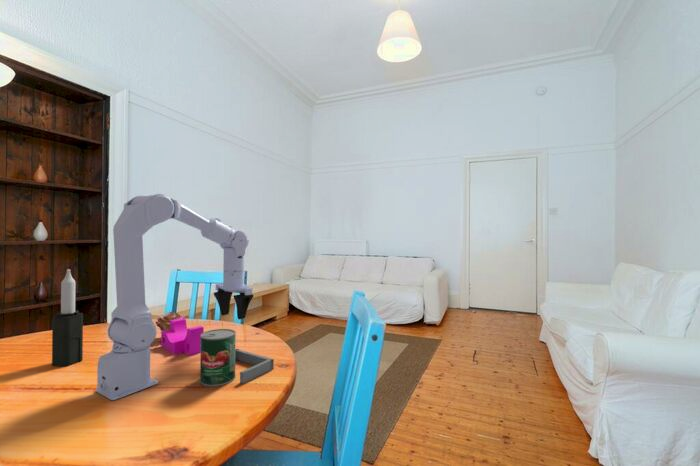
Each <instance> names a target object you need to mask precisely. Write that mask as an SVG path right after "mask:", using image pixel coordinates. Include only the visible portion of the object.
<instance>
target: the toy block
mask: <svg viewBox="0 0 700 466" xmlns="http://www.w3.org/2000/svg"><path fill="white" fill-rule="evenodd" d="M204 332H205V331H204V326H201V325H198V326H194V327H188V326H187V319H186V318H185V319H183V318H180V319H175V320H170V330H167V331H162V332H161V331H160V334H161V335H160V336H161V337H160V339H161V340H160V342H161V343H160V344H161V345H160V346H161V347H162V348H163V349H165V350H167V351H168V352H170V353H172V354H173V355H178V354H181V353H184V354H187V355H189V356H192V355H193V356H194V355H197V354H200V353H201V351H200V349H201V347H200V346H201V337H200V335H201V334H202V333H204Z"/></svg>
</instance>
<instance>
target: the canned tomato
mask: <svg viewBox="0 0 700 466" xmlns="http://www.w3.org/2000/svg"><path fill="white" fill-rule="evenodd" d="M200 337H201V346H200V347H201V349H200V351H201V353H199V355H200V364H199V366H200V370H199V371H200V373H199V376H200V380H199V383H200V384H201V385H202V386H204V387H221V386H225V385H228V384H230V383H231V382H233V381H234V380H235V379H236V360H235V349H236V331H235V330H234V329H230V328H216V329H211V330H207V331H204V333H202V334H201V335H200Z"/></svg>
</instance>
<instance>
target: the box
mask: <svg viewBox="0 0 700 466" xmlns="http://www.w3.org/2000/svg"><path fill="white" fill-rule="evenodd" d="M236 360H237V361H240V362H243V363H246V364H250V365H252V366H250V367H249V368H246V369H244V370H242V371H240V372H239V383H240V384H245V383H247V382H249V381H252V380H253V379H256V378H258V377H260V376H262V375H263V374H264V375H265V374H266V373H268V372H270V371H272V370H274V367H275V366H274V365H275V363H274V362H275V360H274V358H271V357H267V356H263V355H260V354H256V353H252V352H249V351H245V350H243V349H239V348H235V361H236Z"/></svg>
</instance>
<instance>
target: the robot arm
mask: <svg viewBox="0 0 700 466" xmlns="http://www.w3.org/2000/svg"><path fill="white" fill-rule="evenodd" d="M171 219H173V220H176V221H177V222H180V223H183V224H185V225H187V226H190V227H192V228H195V229H197V230H199V231H200V234H201V236H202V237H203V238H204V239H207V240H210V241H212V242H213V243H216V244H218V245H219V246H220V248H221V249H223V271H222V272H223V276H222V278H223V279H222V280H223V281H222V282H221V283H215V291H216V292H213V295H214V298H215V299H216V302H217V304H218V307H219V312H220V315H221V316H227V315H229V314H230V306H231V299H232V296H233V299H234V302H235V305H236V306H235V307H236V316H237V317H236V318H237V319H238V320H242V319H243V320H244V319H245V318H246V316H247V312H248V308H249V305H250V303H251V301H252V299H253V298H254V294H253V287H249V286H247V285H246V284H245V283H244V278H245V277H244V275H245V274H244V270H245V269H244V268H245V265H244V264H245V261H244V260H245V254H246V249H247V247H248V245H249V241H250V240H248V236H247V235H246V234H245V232H243V231H241V230H235V229H234V227H233V226H228V225H226V224H224V223H222V219H220V218H213V217H212V218H209V219H206V218H205V217H203V216H202V215H200V214H198V213H197V212H195V211H193V210H192V209H190V208H189V207H187V206H186V205H183V204H182V203H180V202H179V201H178V200H177V199H174V198H170V197H169V196H168V195H166V194H163V193H156V194H151V195H136V196H134V197H132V198H131V199H129V200H128V201H126V202H125V203H124V204H123V209H122V211H121V213H120V214H119V216H118V218H117V220H116V222H115V224H114V225H113V248H114V249H113V251H114V252H113V253H114V270H115V288H116V289H115V290H116V292H115V293H116V307H115V309H114V310H113V311H112V312H111V320H110V323H109V325H108V327H107V331H106V332H107V337H108V338H109V340H111V341H112V342H113V343H112V350H110V351H109V352H108V353H105V354H103V355H101V356H99V358H98V361H97V372H96V373H97V375H96V376H97V379H96V382H97V383H96V384H97V385H96V386H97V388H95V392H97V394H100V395H102V396H104V397H105V398H107V399H109V400H111V401H116V400H118V399H121V398H124V397H126V396H129V395H131V394H134V393H137V392H139V391H143V390H145V389H147V388H150V387H153V386H155V385H159V381H158V380H156V379H154V378H152V377H151V344H153V342H154V341H155V338H156V336H157V331H158V329H157V325H156V324H155V323H154V321H153V317H152V313H151V311H150V309H149V307H148V306H147V304H146V290H145V289H146V288H145V287H146V286H145V266H144V264H145V262H144V244H143V236H144V235H145V234H146V233H147V232H149V230H151V229H152V228H153V227H154V226H157V225H159V224H161V223H164V222H166V221H168V220H171ZM234 293H235V295H233V294H234Z"/></svg>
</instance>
